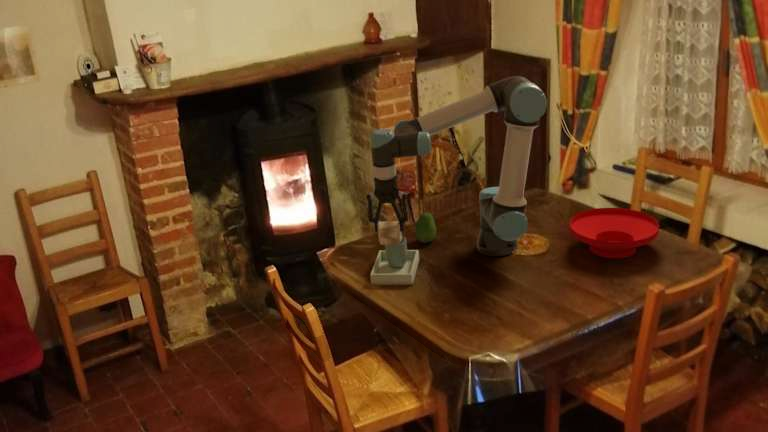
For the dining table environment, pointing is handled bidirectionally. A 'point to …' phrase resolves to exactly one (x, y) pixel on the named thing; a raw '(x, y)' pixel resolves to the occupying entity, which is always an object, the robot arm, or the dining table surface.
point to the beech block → (388, 233)
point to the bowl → (614, 230)
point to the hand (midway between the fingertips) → (390, 239)
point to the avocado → (425, 228)
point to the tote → (394, 270)
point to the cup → (397, 254)
